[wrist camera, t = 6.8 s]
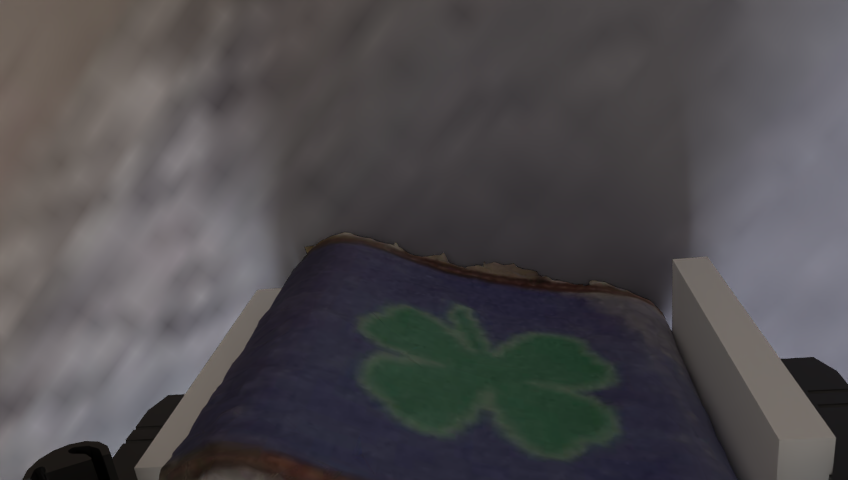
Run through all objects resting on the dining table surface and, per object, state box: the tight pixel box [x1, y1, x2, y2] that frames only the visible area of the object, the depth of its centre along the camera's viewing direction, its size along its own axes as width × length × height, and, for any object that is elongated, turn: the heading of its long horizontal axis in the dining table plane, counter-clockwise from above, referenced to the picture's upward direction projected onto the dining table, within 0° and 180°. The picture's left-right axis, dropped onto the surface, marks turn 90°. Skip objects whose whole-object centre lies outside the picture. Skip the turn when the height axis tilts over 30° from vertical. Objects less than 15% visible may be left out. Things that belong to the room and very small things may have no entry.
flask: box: [159, 232, 738, 480], centre depth 13 cm, size 9×3×11 cm, turn 79°
